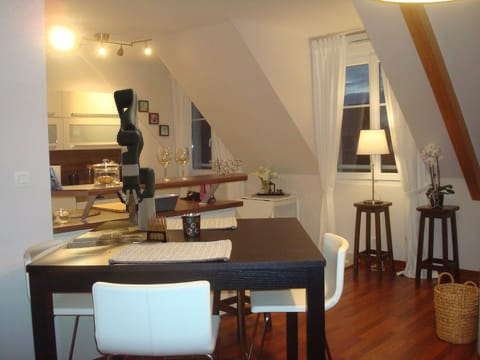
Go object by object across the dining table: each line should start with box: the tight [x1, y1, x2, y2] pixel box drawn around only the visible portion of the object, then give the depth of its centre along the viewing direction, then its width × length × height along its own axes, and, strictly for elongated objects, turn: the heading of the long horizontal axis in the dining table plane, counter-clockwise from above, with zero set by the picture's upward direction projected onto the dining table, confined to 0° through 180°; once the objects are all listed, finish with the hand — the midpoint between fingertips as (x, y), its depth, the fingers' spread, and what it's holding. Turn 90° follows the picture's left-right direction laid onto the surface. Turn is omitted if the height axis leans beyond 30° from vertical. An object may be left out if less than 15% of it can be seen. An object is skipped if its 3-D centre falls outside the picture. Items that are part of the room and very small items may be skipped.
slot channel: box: [95, 234, 144, 247], centre depth 219 cm, size 20×12×3 cm, turn 99°
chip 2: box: [111, 232, 123, 240], centre depth 218 cm, size 4×4×4 cm
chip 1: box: [100, 233, 112, 240], centre depth 218 cm, size 4×4×4 cm
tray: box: [67, 236, 100, 249], centre depth 216 cm, size 12×10×3 cm
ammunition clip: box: [146, 215, 169, 243], centre depth 221 cm, size 11×2×12 cm, turn 68°
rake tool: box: [128, 194, 138, 226], centre depth 219 cm, size 3×5×14 cm, turn 9°
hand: (132, 212), depth 219 cm, fingers closed on rake tool, 3 cm apart
